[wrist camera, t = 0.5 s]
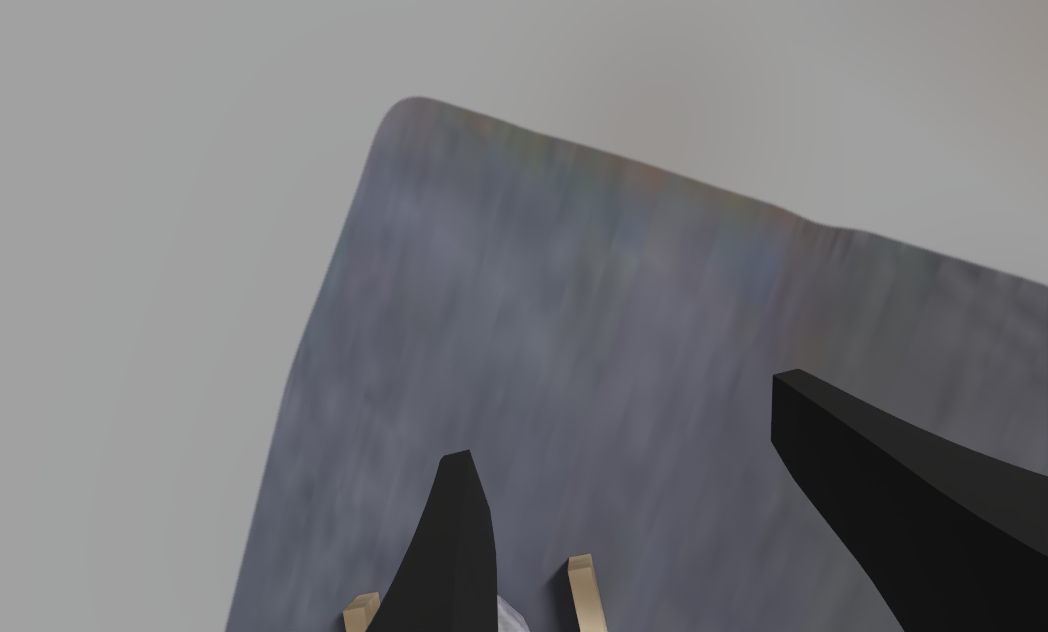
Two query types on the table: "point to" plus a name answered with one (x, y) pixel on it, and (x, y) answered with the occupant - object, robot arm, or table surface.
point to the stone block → (509, 618)
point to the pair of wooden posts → (581, 585)
